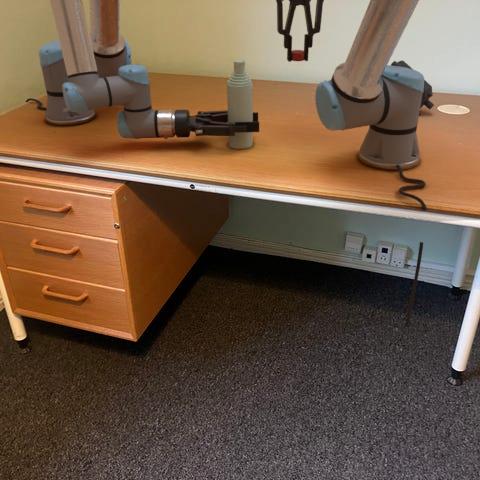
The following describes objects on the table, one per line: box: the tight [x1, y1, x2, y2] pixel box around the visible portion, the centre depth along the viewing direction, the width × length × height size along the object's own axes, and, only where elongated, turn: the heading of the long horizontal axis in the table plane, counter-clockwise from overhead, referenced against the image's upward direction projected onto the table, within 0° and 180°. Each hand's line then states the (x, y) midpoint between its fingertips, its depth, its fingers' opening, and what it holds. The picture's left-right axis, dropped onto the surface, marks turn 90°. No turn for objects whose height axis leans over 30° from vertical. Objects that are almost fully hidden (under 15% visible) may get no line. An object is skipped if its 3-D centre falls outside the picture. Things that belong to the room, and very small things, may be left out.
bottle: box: [226, 59, 254, 150], centre depth 144 cm, size 7×7×23 cm
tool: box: [390, 60, 435, 111], centre depth 170 cm, size 6×19×15 cm, turn 51°
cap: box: [291, 49, 305, 62], centre depth 147 cm, size 4×4×2 cm
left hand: (258, 122), depth 146 cm, fingers closed on bottle, 7 cm apart
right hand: (297, 59), depth 148 cm, fingers closed on cap, 4 cm apart
